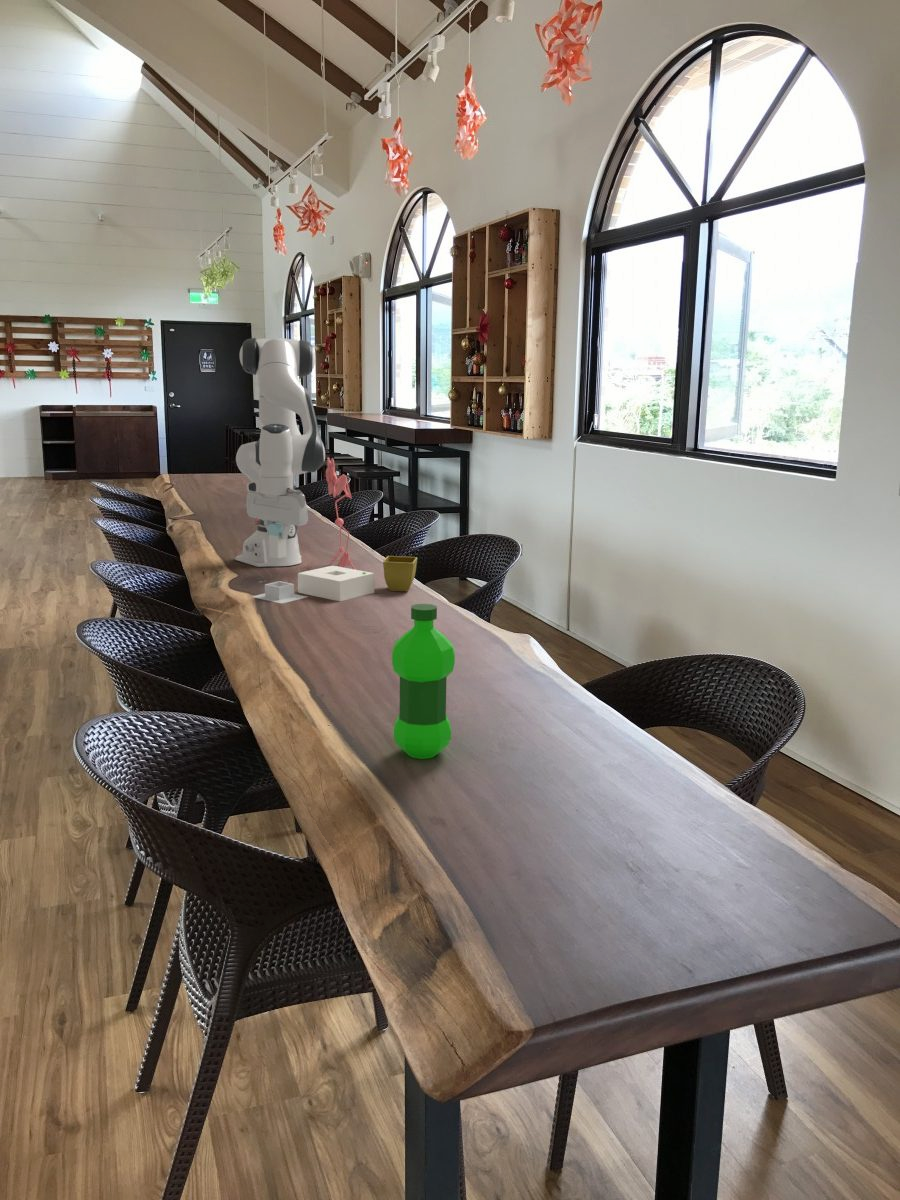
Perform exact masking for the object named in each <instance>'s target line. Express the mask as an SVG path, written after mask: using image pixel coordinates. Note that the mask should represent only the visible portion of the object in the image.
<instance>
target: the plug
mask: <svg viewBox="0 0 900 1200" xmlns="http://www.w3.org/2000/svg"><path fill="white" fill-rule="evenodd" d="M268 526H269V550H270V557H274V558H281V557H286V556H287V551H286V539H280V538H279V536H280V535H279V532H282V529H283V527H282V523H278V522H277V523H271V524H268Z"/></svg>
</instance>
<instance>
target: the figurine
mask: <svg viewBox="0 0 900 1200" xmlns="http://www.w3.org/2000/svg"><path fill="white" fill-rule="evenodd" d="M326 462H327V468H326V469H325V478H326V482H327V488H328V489H327V490H328V495H329V496H331V495H332V496H333V498H334V499H335V498H336V496H337V497H338V496H339V495H340V494H341V493H342V492H344V493H345V494H343V495H342V496H341V497H339V498H337V499H336V500H335V502H334V507H335V512H336V517H337V518H336V519H335V520H334V524H335V525H336V526H337V528H338V527H339V549H338V551H337V552H336V554H335V555H334V557H333V558H332V560H331V562H330V564H332V563H333V562H335V561H336V559H337V558H338V556H340V554H341V553H342V555H341V557H340V558H339V560H338V567H343V568H346V567H347V565H348V566H351V569H354V570H356V568H355V566H354V565H353V563H352V561H351V559H350V552H349V551H347V550H348V544H349V538H350V532H349V531H348V530H347V529H346V528H345V527H344V526H343V525H344V520H343V518H341V517H339V513H338V511H339V510H338V504H337V503H338V502H339V501H340V500H342V499H343V498H349V499H350V500H352V494H351V489H350V486H349V483H348V478H347V477H348V476H347V475H345V474H344V473H343V474H342V475H340V476H339V477H337V473H336V468H335V467H336V465H335V461H334V458H333V457H332V458H331V459H330V457H327V459H326ZM342 529H343V530H344V531H345V532H346V533H347V537H346V538H347V540H346V546H345V552H344V550H343V549H344V546H342Z"/></svg>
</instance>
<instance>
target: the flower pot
mask: <svg viewBox="0 0 900 1200" xmlns="http://www.w3.org/2000/svg"><path fill="white" fill-rule="evenodd" d="M417 564H418V557H417V556H416V557H415V556H399V555H398V556H397V555H396V556H395V555H387V556H386V558H384V559H383V561H382V565H383V575H384V580H385V584H386V586H387V589H388V590H390V591H391V592H404V591H406V592H408V591H409V590H410V588H411V587H412V585H413V581H414V580H415V576H416V571H417Z"/></svg>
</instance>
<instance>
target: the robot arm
mask: <svg viewBox="0 0 900 1200" xmlns="http://www.w3.org/2000/svg"><path fill="white" fill-rule="evenodd" d="M239 361H240V364H241V367H242V370H243V371H244V372H245V373H247V374H250V375H254V376H256V375H257V382H258V389H259V392H258V418H259V421H260V423H261V424H262V425H263V426H262V427H261V429H260V434H259V439H258V440H257V441H252V442H247V443H244V444H241V445H240V446H239V448H238V449H237V452H236V456H235V462H236V467H238V470H239V471H240V472H241V474H243V475H244V476H246V477H247V478H248V479H249V480H250V481H249V482H248V483H246V490H247V493H246V512H247V515H248V516H249V518H254V519H257V520H254V522H255V523H254V525H257V527H256V531H254V532H253V533H252V534H251V535H250V536H249V537H247V539H246V540H244V542H243V544H242V553H241V554H238V555H236V556H235V558H234V559H235V561H239V562H241V563H243V564H248V565H251V566H254V567H257V568H258V567H259V568H260V567H261V568H262V567H264V568H265V567H288V566H295V565H296V566H297V565H299V564H301V563H302V562H303V560H302V555H301V553H300V545H299V538H298V537H299V536H298V534H297V531H298V526H299V527H300V526H305V525H307V523H308V521H309V517H308V515H309V514H308V505H307V501H306V496H305V495H304V493H303V492H302V491H301V490H300V489H294V476H298V475H302V474H303V475H304V474H305V473H306V474H307V473H315V472H316V471H318V470H319V469H321V467H323V466H324V464H325V460H326V450H325V446H324V443H323V441H322V438H321V434H320V431H319V426H318V421H317V416H316V412H315V411H316V410H315V407H314V404H313V400H312V397H311V393H310V392H309V390H308V388H306V387H305V386H303V385H302V384H301V383H300V380H301V379H302V378H303V377H306V376H309V375H310V374H311V373H313V369H314V367H315V365H316V353H315V350H314V347H313V345H312V344H311V343H310V342H308V341H306V340H303V339H299V340H298V339H297V340H296V339H291V338H285V337H278V338H277V337H275V338H274V337H273V338H265V337H264V338H256V337H252V338H247V339H245V340H244V341H243V342H242V346H241V347H240V350H239ZM296 414H297V415H298V416H299V417H300V421H301V425H302V429H303V433H304V434H301V432H300V430H299V428H298V423H297V419H296V417H297V416H296ZM277 522H278V523H282V527H283V529H282V532H279V535H280V536H279V538H280V539H286V551H287V556H286V557H281V558H274V557H270V550H269V526H268V524H271V523H277Z"/></svg>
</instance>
